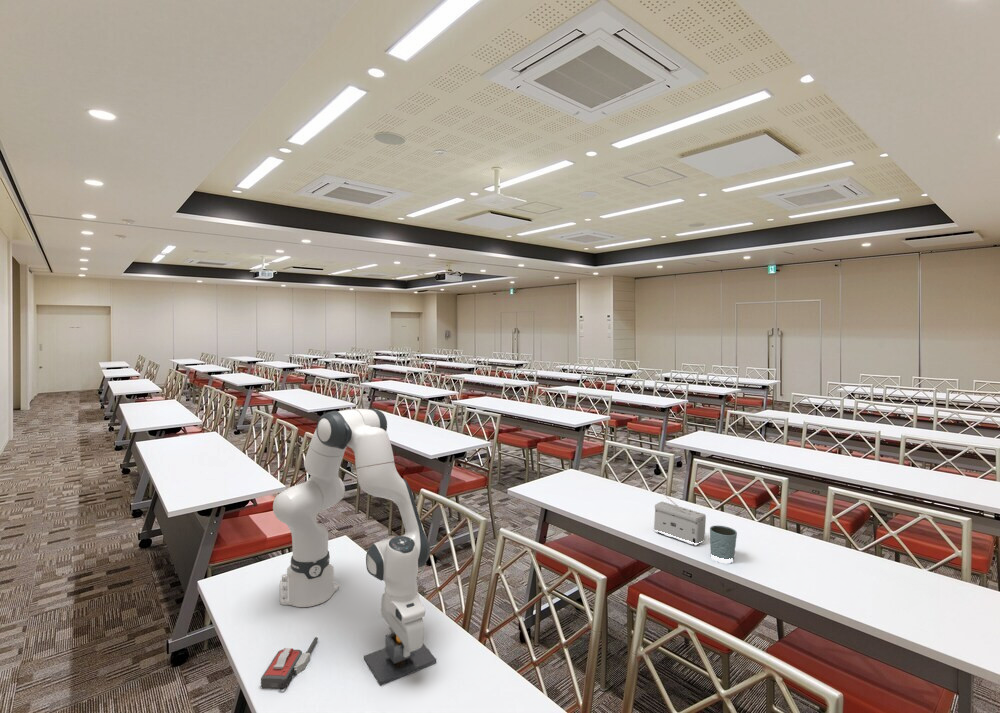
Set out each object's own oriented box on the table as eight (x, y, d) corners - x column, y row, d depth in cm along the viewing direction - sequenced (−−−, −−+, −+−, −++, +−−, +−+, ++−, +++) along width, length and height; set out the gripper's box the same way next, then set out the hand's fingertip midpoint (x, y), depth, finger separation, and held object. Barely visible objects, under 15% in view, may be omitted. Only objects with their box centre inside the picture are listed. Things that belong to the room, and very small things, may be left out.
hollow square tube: (385, 651, 137) (385, 635, 136) (405, 643, 140) (405, 628, 140) (394, 663, 132) (394, 647, 132) (414, 655, 135) (415, 639, 135)
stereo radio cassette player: (705, 543, 217) (707, 498, 215) (696, 548, 211) (699, 502, 210) (660, 528, 232) (662, 485, 230) (651, 532, 226) (653, 489, 225)
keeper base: (363, 659, 136) (363, 631, 136) (417, 639, 146) (417, 612, 145) (380, 686, 127) (380, 655, 126) (436, 662, 136) (436, 634, 135)
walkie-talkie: (292, 694, 124) (320, 642, 144) (292, 677, 123) (320, 627, 143) (256, 693, 124) (289, 641, 143) (256, 676, 123) (289, 627, 143)
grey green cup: (722, 566, 196) (724, 537, 195) (702, 555, 205) (704, 527, 204) (741, 562, 200) (742, 533, 199) (720, 551, 209) (722, 523, 208)
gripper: (375, 585, 142) (375, 631, 143) (405, 621, 125) (404, 674, 126) (396, 579, 145) (395, 624, 146) (428, 613, 129) (427, 664, 130)
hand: (400, 647), depth 136 cm, fingers closed on hollow square tube, 6 cm apart
